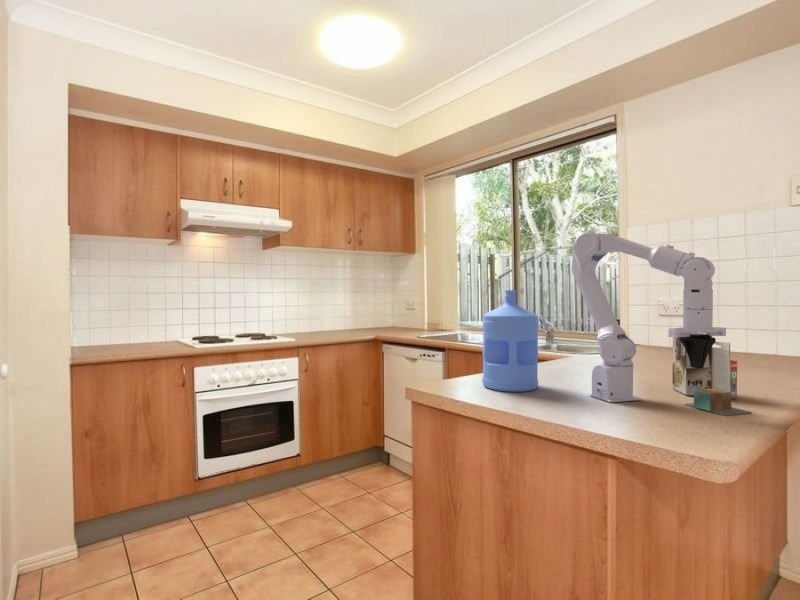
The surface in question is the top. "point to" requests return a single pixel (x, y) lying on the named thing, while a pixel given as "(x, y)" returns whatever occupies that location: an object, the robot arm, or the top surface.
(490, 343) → the water jug
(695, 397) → the walnut block
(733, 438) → the top surface
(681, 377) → the coffee box
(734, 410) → the rubber mat
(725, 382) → the ink box
